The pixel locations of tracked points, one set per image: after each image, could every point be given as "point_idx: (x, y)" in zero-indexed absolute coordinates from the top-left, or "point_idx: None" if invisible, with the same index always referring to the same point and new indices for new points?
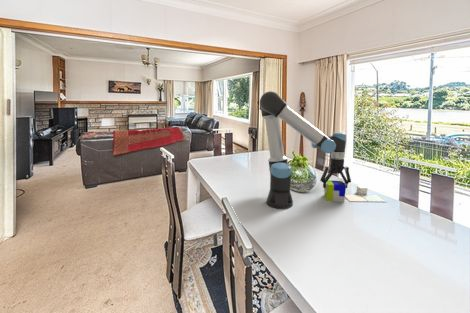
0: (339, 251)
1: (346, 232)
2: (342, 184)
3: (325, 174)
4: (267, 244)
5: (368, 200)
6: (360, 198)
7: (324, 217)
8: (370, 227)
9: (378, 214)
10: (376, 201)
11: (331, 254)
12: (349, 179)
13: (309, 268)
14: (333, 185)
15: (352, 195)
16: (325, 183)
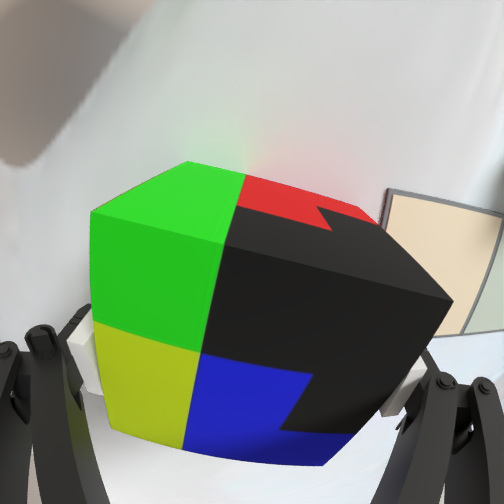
0: (141, 497)
1: (171, 486)
2: (319, 441)
3: (14, 493)
4: (32, 450)
5: (474, 320)
6: (463, 287)
7: (120, 442)
8: (254, 487)
9: (363, 445)
10: (493, 330)
11: (127, 495)
12: (453, 455)
13: None
14: (175, 445)
15: (460, 216)
16: (80, 377)
